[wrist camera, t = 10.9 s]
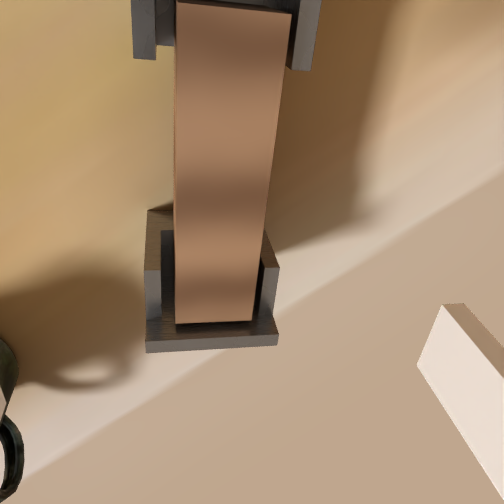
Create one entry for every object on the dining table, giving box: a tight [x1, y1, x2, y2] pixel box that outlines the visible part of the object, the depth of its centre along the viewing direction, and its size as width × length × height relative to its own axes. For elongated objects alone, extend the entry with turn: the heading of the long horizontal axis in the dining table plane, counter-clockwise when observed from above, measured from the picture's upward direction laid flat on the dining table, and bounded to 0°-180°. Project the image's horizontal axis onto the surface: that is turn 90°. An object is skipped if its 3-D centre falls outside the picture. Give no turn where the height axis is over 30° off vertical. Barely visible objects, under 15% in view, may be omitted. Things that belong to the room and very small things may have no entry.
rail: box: [173, 0, 292, 324], centre depth 26 cm, size 18×5×6 cm, turn 174°
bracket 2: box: [144, 211, 280, 353], centre depth 31 cm, size 5×9×10 cm, turn 85°
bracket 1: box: [131, 0, 322, 71], centre depth 22 cm, size 5×9×10 cm, turn 84°
